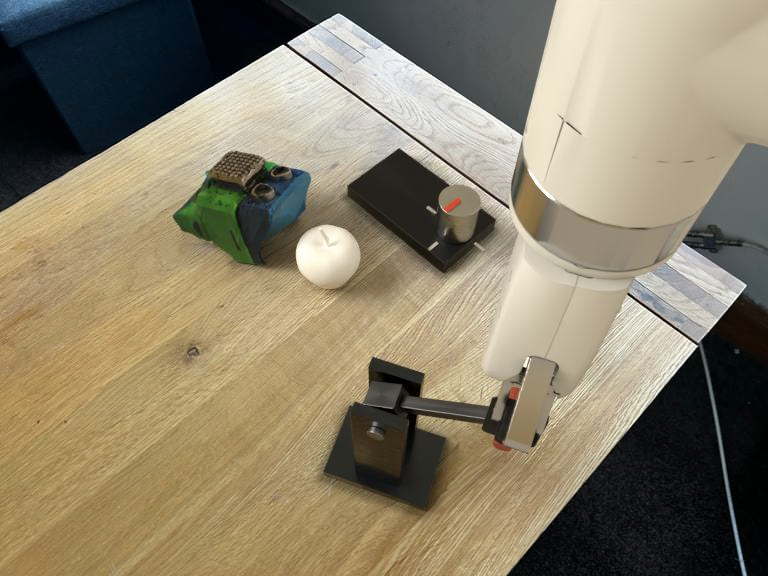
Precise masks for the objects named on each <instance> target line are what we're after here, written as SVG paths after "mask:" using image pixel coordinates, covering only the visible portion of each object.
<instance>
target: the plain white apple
mask: <svg viewBox="0 0 768 576" xmlns="http://www.w3.org/2000/svg"><path fill="white" fill-rule="evenodd" d="M360 248H361V247H360V245H359V243H358V241H357V240H356V238H355V237H354V236H353V234H352V233H351V232H350V231H349V230H347V229H345V228H343V227H340V226H336V225H332V224H321V225H318V226H315V227H312V228H310V229H308V230H306V231H305V232H304V233H303V234H302V235H301V237H300V238H299V240H298V243H297V244H296V249H295V259H296V264H297V268H298V270H299V272H300V273H301V275H302V276H303V277H304V278H306V280H308V281H309V282H311V283H312V284H314V285H315V286H316V287H319V288H322V289H324V290H335V289H339V288H341V287H342V286H344V285H345V284H346V283H347V282H348V281H349V280H350V279H351V278H352V277H353V276H354V275H355V274H356V272H357V270H358V269H359V266H360V262H361V249H360Z"/></svg>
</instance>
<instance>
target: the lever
mask: <svg viewBox="0 0 768 576" xmlns="http://www.w3.org/2000/svg"><path fill="white" fill-rule="evenodd" d="M519 389H520V387H518V386H512V389H511V392H510V395H509V398H511V399H514V400H516V399H517V395H518V392H519ZM362 404H364V405H367V406H370V407H373V408H376V409H379V410H382V411H385V412H388V413H391V414H394V415H397V416H400V417H403V418H406V417H407V414H415V415H419V416H423V417H428V418H429V417H430V418H436V419H443V420H450V421H457V422H465V423H471V424H479V425H483V422H484V419H485V416H486V414H487V411H488V408H489V405H483V404H475V403H467V402H460V401H452V400H445V399H437V398H430V397H423V396H422V397H415V396H410V395H409V393H408V392H407V390H406V389H405V388H404V386H403V385H402V384H396V383H388V382H379V381H371V384H370V386H369V385H368V389H367V391H366V394H365V397H364V398H363V402H362ZM492 446H493V448H495V449H496V450H498V451H502V452H510V451H512V450H513V449H512V448H509V447H506V446H503V445H502V444H499V443H498V442H496V441H495V440H494V439H493V442H492Z"/></svg>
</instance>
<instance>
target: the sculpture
mask: <svg viewBox="0 0 768 576" xmlns="http://www.w3.org/2000/svg"><path fill="white" fill-rule="evenodd" d="M204 174H205V176H206V177H205V179H204V181H203V182H202V184H201V186H200V187H199V188H198V189H197V190H196V191H195V192H194V193H193V194H192V196H190V198H188V200H187V201H186V202H185V203H184V204H183V205H182V206H181V207H180V208H179V209H177V210H176V211H175V213H174V214H173V215H172V219H173V220H174V221H175V223H176V224H177V226H178V227H179V229H180V231H181V232H184V233H187V234H191V235H192V236H194V237H196V238H197V239H199V240H201V241H202V242H203V243H209V244H211V245H213V246H217V247H218V248H220V249H221V250H222V251H224V252H225V253H227V254H228V255H230V257H232V259H233V261H234V262H235V263H246V264H252V265H260V266H261V265H263V266H267V265H268V264H267V263H266V261H265V259H264V257H263V256H262V254H261V252H260V250H261V248H262V246H263V244H264V243H265V242H266V241H268V239H270V238H272V237H273V236H275V235H277V234H278V233H279V232H281V231H282V230H284V229H285V228H286V227H288V226H289V225H291V224H293V223H294V222H295V221H297V220H298V219H299V218H300V216H301V215H302V214H303V213H305V211H306V210H307V204H306V201H307V200H306V199H307V194H308V191H309V188H310V185H311V182H312V176H311V174H310V173H309V172H308V171H306V170H303V169H299V168H294V167H293V168H292V167H289V166H286V165H280V164H277V163H276V162H274V161H268V160H266V159H265V157H264V156H260V155H259V154H255V153H248V152H245V151H244V152H243V151H238V150H234V151H233V150H231V151H228V152H226V153H225V154H224V155H222V157H221V158H220V159H219V160H218V161H217V162H216V163H215V164H214V165H213V166H212V168H210V169H208V170H206V171H205V172H204Z"/></svg>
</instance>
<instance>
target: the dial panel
mask: <svg viewBox="0 0 768 576" xmlns="http://www.w3.org/2000/svg"><path fill="white" fill-rule="evenodd" d="M449 186H451V185H450V184H449V183H448V182H446V181H445V180H444V179H442V178H441V177H439V176H438V175H437V174H435V173H434V172H433V171H431V170H430V169H428V168H427V167H426V166H424V165H423V164H422V163H421V162H419V161H418V160H417V159H415V158H414V157H412V156H411V155H409V154H408V153H407V152H406V151H404V150H403V149H402V148H399V147H398V148H397V149H395V150H394V151H393V152H391V153H390V154H388V156H386V157H384V158H383V159H382V160H380V161H379V162H378V163H376V164H375V165H373V166H372V167H371V168H369V169H368V170H367V171H365V172H363V173H362V174H361V175H360V176H359V177H357V178H356V179H354V180H352V181H351V182H350V183H349V184H347V186H346V189H347V190H346V191H347V197H348V198H349V199H350V200H352V201H353V202H354V203H355V204H356V205H358V206H359V207H360V208H361V209H362V210H364V211H365V212H366V213H367V214H369V215H370V216H372V217H373V218H374V219H375V220H376V221H377V222H379V223H380V224H382V226H384V227H385V228H386V229H387V230H389V231H390V232H391V233H392V234H394V235H395V236H396V237H398V239H400V240H401V241H403V242H404V243H405V244H406V245H407V246H408V247H409V248H411V249H412V250H414V251H415V252H416V253H417V254H419V255H420V256H421V257H422V258H423V259H425V260H426V261H427V262H428V263H429V264H431V265H432V266H433V267H434V268H436V269H437V270H438V271H440V272H441V273H442V274H444V273H445V272H446V271H448V270H449V269H450V268H451V267H453V266H454V265H455V264H457V262H458V261H460V260H461V259H462V258H463V257H464V256H465V255H467V254H468V253H469V252H470V251H471V250H472V249H473V248H475V247H476V248H477V249H479V250H480V251H481V252H484V251H486V248H484V247H483V246H482V245H481V244H479V243H480V242H481V241H483V240H484V239H485V238H486V237H487V236H489V235H490V234H491V233H492V232H493V231H494V230H495V228H496V223H497V219H496V218H495V217H494V216H492V215H491V214H490V213H488V212H487V211H486V210H484V209H483V208H482V207H481V206H480V209H479V214H478V219H477V223H476V228H475V233H474V235H473V237H472V238H471V239H470V240H469V241H467V242H465V243H462V244H451V243H447V242H445V241H443V240H442V239H441V238H440V237H439V236H438V235H437V233H436V230H435V224H436V216H437V208H438V200H439V195H440V193H441V192H442V191H443V190H444V189H445V188H447V187H449Z"/></svg>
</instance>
